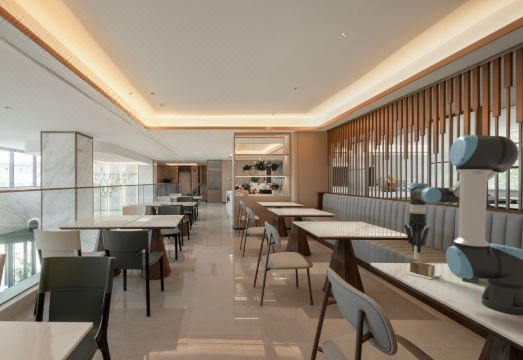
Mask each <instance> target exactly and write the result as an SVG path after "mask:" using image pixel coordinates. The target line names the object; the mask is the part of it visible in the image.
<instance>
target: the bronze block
mask: <svg viewBox="0 0 523 360" xmlns="http://www.w3.org/2000/svg"><path fill="white" fill-rule="evenodd" d="M409 265H410V266H409V273H411V272H412V273H416V274H420V275H424V276H429V277H431V276H434V275H435V274H436V273H435V272H436V267H435V266H436V265H435V264H431V263H425V262H421V261H416V260H413V261H410V264H409Z"/></svg>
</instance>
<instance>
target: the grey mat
mask: <svg viewBox="0 0 523 360" xmlns="http://www.w3.org/2000/svg"><path fill="white" fill-rule="evenodd" d="M407 275H409V276H415V277H418V278H422V279H426V280H434V279H436V278H439V277H441V276H442V274H437V273H435V275H434V276H431V277H429V276H424V275H420V274H416V273H412V272H408V273H407Z"/></svg>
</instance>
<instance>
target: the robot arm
mask: <svg viewBox="0 0 523 360" xmlns="http://www.w3.org/2000/svg"><path fill="white" fill-rule="evenodd" d="M449 151H450V152H449V160H450V163H451V165H453V166H455V171H456V172H457V173H458V174H459V177H460V179H459V180H458V181H457V182H455V184H454V185H452V186H451V187H438V186H437V187H433V186H427V183H425V182H411V184H410V189H409V194H410V195H409V217H408V219H409V221H408V223H407V224H405V225H404V226H403V227H404V229H405V232H406V236H407V241H408V244H410V245H411V246H412V247H411V251H412V252H413V259H415V260H417V259H420V253H421V252H422V250H421V249H422V247H423V246H426V242H427V238H428V237H429V236H428V235H429V232H430V231H431V230H432V228H431V227H428V226H427V224H426V221H427V220H426V218H427V217H426V216H427V214H426V212H427V204H455V205H458V206H459V208H458V230H457V231H458V234H457V235H458V236H457V237H456V238H455V239H453V243H452V245H451V246H448V247H447V250H446V251H445V258H446V259H445V260H446V264H447V266H448V268H449V270H450V272H451V273H452V274H453V275H454V276H456V277H457V278H458V277H460V278H467V279H471V278H475V279H486V280H487V282H486V286H485V287H484V290H483V292H482V295H481V304H482V305H484V306H485V307H487V308H488V309H489V308H490V309H493V310H495V311H499V312H503V313H507V314H511V315H523V249H522V248H519V247H513V246H509V245H506V244H500V243H493V242H490V243H489V242H488V241H487V240H486V224H487V223H486V222H487V221H486V220H487V217H486V215H487V196H488V195H487V194H488V193H487V192H488V191H487V190H488V187H487V186H488V181H490V180H491V179H493V178H494V177H495V176H497V175H498V174H502V173H506V172H507V171H508V170H509V169H511V168H512V167H513V166H514V165H515V163H516V162H517V160H518V158H519V153H520V152H519V148H518V145H517V144H516V143H515V141H513V140H512V139H510V138H509V137H506V136H503V135H483V134H481V135H480V134H466V135H465V134H464V135H461V136H459V137H457V138H456V139H455V140H454V142H453V143H452V145H451V147H450V150H449ZM423 230H424V231H423Z"/></svg>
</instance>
